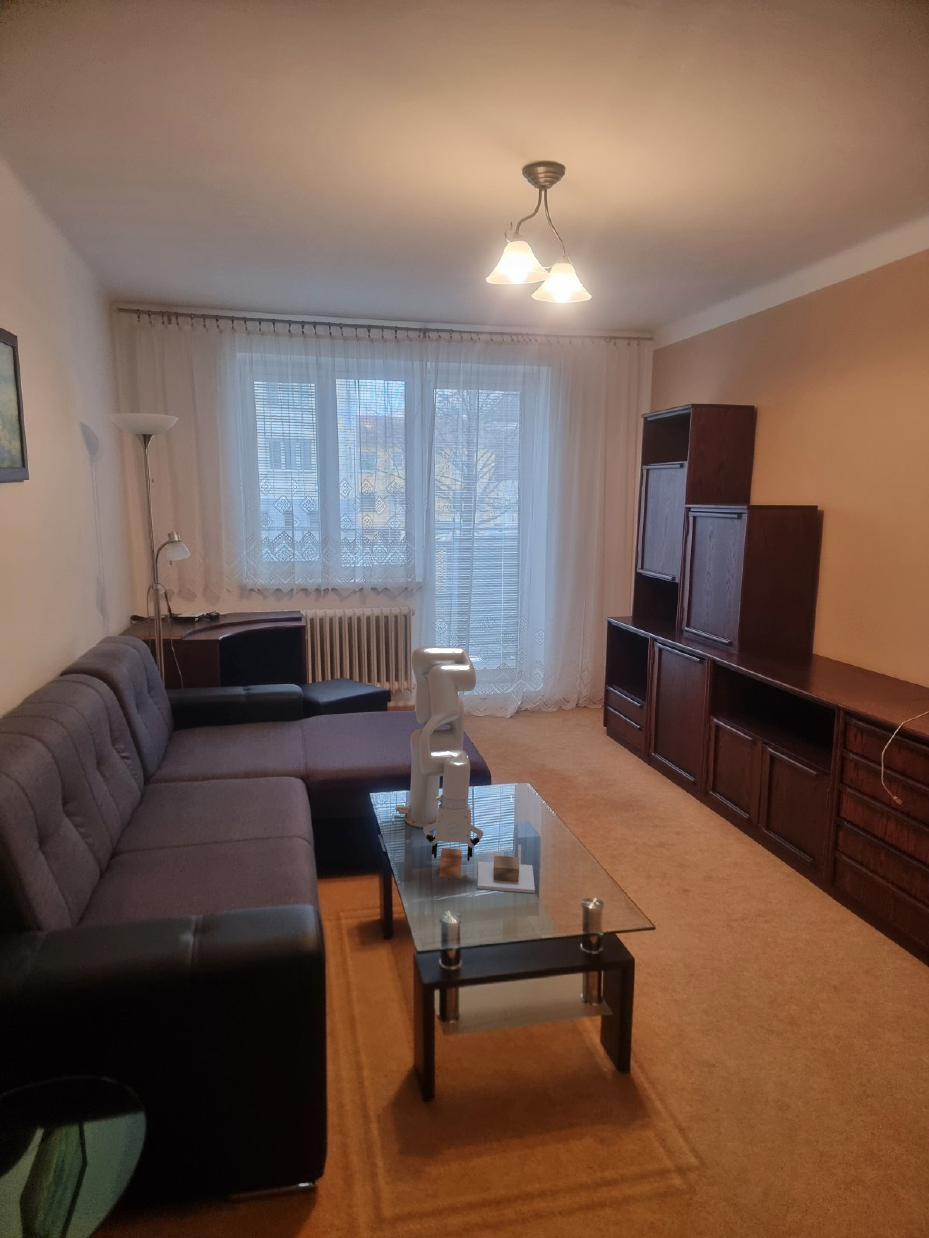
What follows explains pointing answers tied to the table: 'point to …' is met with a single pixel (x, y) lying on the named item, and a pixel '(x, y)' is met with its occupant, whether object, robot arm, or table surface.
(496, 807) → the table surface
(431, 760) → the robot arm
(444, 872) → the terracotta cube
